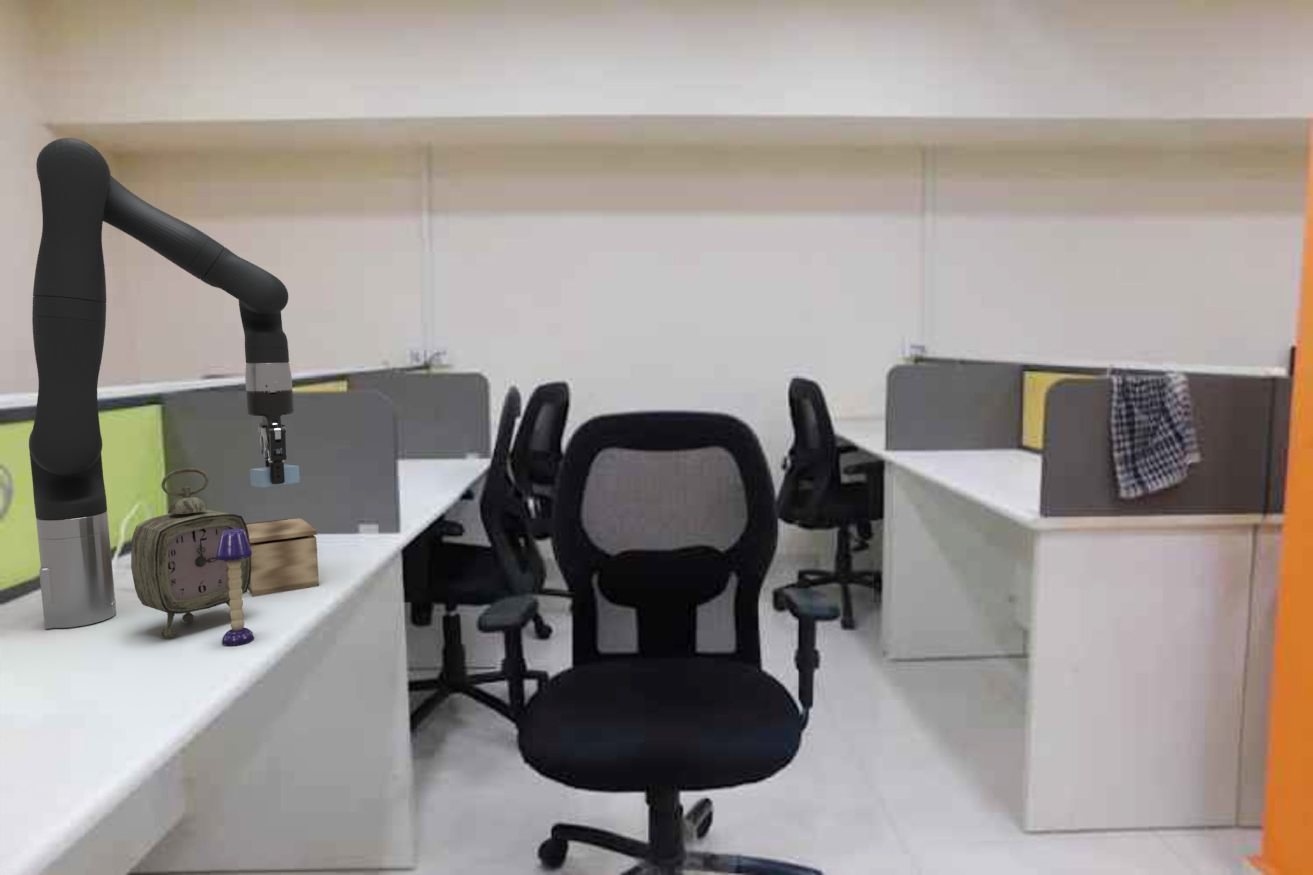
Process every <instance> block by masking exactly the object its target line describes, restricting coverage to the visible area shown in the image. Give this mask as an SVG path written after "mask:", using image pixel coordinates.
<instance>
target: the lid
mask: <svg viewBox="0 0 1313 875" xmlns="http://www.w3.org/2000/svg"><path fill="white" fill-rule="evenodd" d="M280 520H281V521H273V520H272V521H273V522H265V521H263V522H264V523H256V522H255V523H256V524H248V523H246V524H247V525H246V526H247V530H248V534H249V540H250V543H255V542H263V541H271V540H278V539H286V538H294V537H302V536H309V535H314V536H316V535H318V529H316V528H315V527H313V526H312V525H311V524H310V523H308V522H306V521H305V520H304V519H302V518H290V519H288V520H282V519H280Z"/></svg>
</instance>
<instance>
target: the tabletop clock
mask: <svg viewBox="0 0 1313 875" xmlns="http://www.w3.org/2000/svg"><path fill="white" fill-rule="evenodd" d="M184 473H197V474H200V475H201V476H203V478H204V480H205V481H204V483H203V484H202V485H201V486H199V487H196V488H194V489H191V487H190V486H189V485H184V486H182V488H181V489H182V490H181V491H172V490H169V489H167V488H166V483H167V481H168V480H169V479H171V477H173V476H175V475H179V474H184ZM209 480H210V479H209V476H208V474H207V472H205V471H204V470H202V469H200V468H197V467H185V468H178V469H173V471H170V472H169V473H167V474H166V475H165V476H164V477H163V479H162V481H161V485H160V486H161V489H162V490H163V492H164V493H165V494H167V495H169V496H174V497H179V498H177V499H175V500H174V501H173V502H172V503H171V505H169V507H168V512H167V513H166V514H163V515H158V516H155V517H152V518H149V519H146V520H144V521H141V522H140V523H138V524H137V525H136V526H135V528H134V531H133V534H132V536H131V537H132V538H131V545H130V546H131V548H130V550H131V551H130V553H131V554H130V558H131V560H130V562H131V563H130V568H131V574H132V578H133V584H134V585H133V586H134V589H135V592H136V593H135V594H136V596H137V598H138V600H139V601H140V604H142V606H144V607H147V608H150V609H151V608H152V609H153V610H157V611H161V612H164V613H166V615H167V619H166V626H165V627H164V628H163V629H162V630H161V636H162V638H165V639H169V638H172V637H173V636H174V635H175V629H174V628H173V627H172V625H173V621H174V619H175V618H174V617H175V615H183V616H182V618H181V619H182V621H183V622H184V623H185V624H190V623H192V622H193V620H194V619H195V616H194V614H193V612H198V611H202V610H207V609H211V608H214V607H217V606H220V605H223V604H226V605H227V606H228V608H230V605H229V603H230V600H231V599H230V597H229V590H230V588H229V585H228V581H229V579H230V578H229V577H228V570H229V568H228V565H227V561H228V560H227V561H226V560H225V561H224V560H218V559H217V558H216V555H217V550H218V546H219V541H220V537H221V534H222V532H223V531H225V530H230V529H243V530H244V531H245V533H246V536H247V539H248V542H249V545H250V540H249V534H248V530H247V526H246V524H247V523H246V521H245V520H244V518H243V516H242V515H239V514H233V513H229V512H223V511H217V510H212V509H207V508H208V507H207V505H206V504H205V502H204V501H203V500H202V499H201V498H200V497H196V496H192V495H195V494H198V493H200V492H201V491H203V490H204V489H205V488H206V487H207V486H208V484H209ZM250 548H251V547H250ZM240 569H241V577H240V578H241V580H242V586H241V589H242V592H243V593H242V596H243V595H244V594H245V593H248V591H249V589H248V587H249V584H250V578H251V556H250V557H248V558H244V559H241V565H240Z"/></svg>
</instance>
